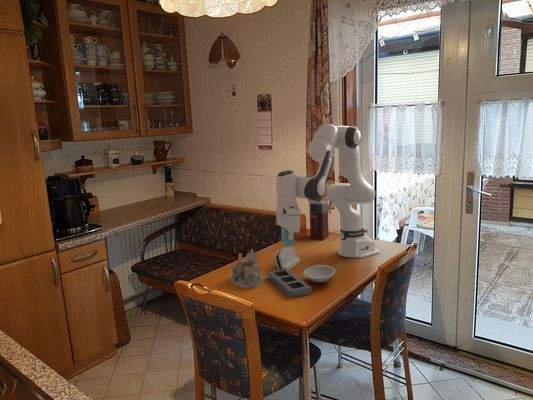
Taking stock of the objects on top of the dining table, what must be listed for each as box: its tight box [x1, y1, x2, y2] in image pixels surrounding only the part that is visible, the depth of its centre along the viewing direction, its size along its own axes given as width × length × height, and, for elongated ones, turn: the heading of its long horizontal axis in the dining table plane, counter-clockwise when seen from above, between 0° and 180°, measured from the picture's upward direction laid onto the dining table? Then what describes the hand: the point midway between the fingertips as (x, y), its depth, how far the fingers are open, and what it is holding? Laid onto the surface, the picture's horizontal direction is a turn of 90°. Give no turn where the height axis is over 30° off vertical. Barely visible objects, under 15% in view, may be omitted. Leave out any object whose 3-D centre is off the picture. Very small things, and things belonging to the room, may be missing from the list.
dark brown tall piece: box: [308, 196, 330, 241], centre depth 259 cm, size 9×11×28 cm
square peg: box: [280, 226, 295, 248], centre depth 185 cm, size 4×4×8 cm
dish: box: [302, 264, 336, 283], centre depth 191 cm, size 18×14×5 cm
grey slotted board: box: [267, 269, 312, 299], centre depth 188 cm, size 10×26×3 cm, turn 21°
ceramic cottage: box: [230, 248, 265, 289], centre depth 194 cm, size 16×16×15 cm
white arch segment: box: [274, 246, 301, 271], centre depth 215 cm, size 17×5×10 cm, turn 150°
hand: (287, 238), depth 185 cm, fingers closed on square peg, 4 cm apart
